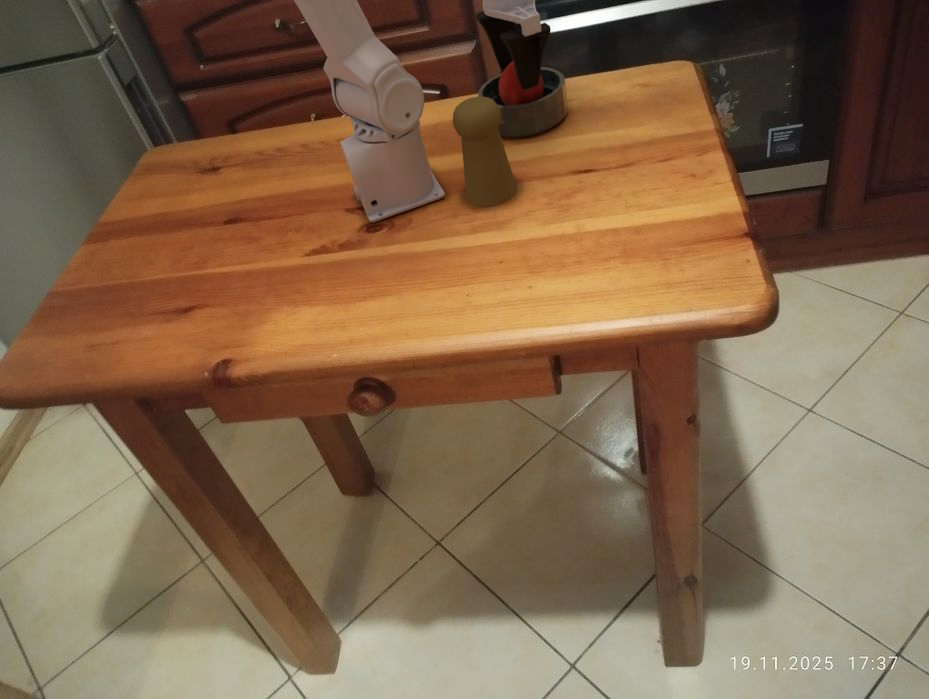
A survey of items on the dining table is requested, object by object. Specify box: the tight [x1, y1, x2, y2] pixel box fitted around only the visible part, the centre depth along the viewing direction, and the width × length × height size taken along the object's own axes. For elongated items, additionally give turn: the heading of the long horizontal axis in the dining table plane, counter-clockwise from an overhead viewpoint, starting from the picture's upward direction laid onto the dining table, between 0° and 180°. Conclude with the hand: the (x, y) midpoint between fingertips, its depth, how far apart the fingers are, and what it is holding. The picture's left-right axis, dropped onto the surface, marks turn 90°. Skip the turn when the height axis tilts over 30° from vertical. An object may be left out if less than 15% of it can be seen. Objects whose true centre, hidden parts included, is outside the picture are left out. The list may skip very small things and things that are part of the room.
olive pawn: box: [452, 96, 518, 208], centre depth 75 cm, size 6×6×11 cm
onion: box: [499, 61, 544, 106], centre depth 87 cm, size 6×6×8 cm
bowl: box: [477, 66, 569, 138], centre depth 88 cm, size 11×11×4 cm
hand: (518, 76), depth 86 cm, fingers open, 7 cm apart
